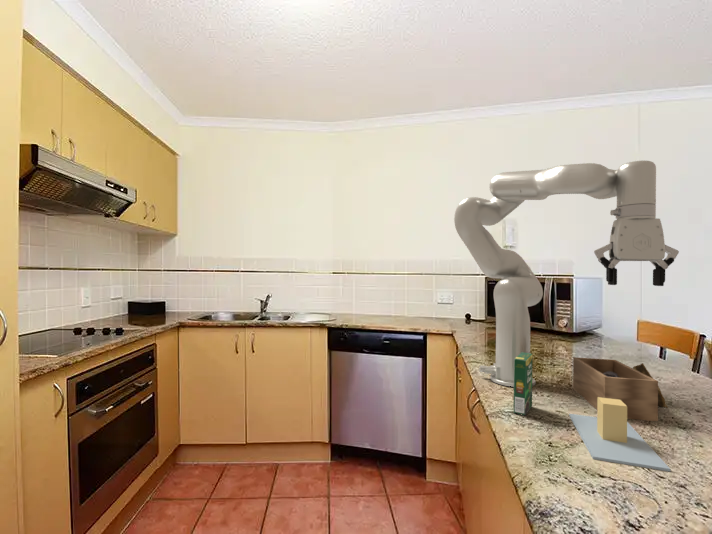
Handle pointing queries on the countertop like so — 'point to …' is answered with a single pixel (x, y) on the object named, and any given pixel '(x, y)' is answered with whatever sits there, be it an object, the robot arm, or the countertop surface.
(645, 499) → the countertop surface
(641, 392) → the crate
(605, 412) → the lid
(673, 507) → the countertop surface
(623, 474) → the countertop surface
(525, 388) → the coffee box
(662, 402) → the rock
